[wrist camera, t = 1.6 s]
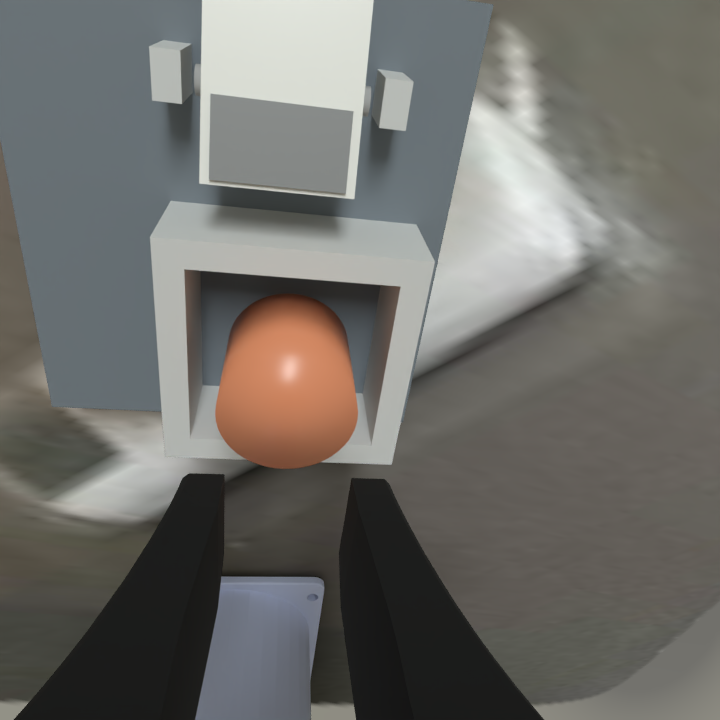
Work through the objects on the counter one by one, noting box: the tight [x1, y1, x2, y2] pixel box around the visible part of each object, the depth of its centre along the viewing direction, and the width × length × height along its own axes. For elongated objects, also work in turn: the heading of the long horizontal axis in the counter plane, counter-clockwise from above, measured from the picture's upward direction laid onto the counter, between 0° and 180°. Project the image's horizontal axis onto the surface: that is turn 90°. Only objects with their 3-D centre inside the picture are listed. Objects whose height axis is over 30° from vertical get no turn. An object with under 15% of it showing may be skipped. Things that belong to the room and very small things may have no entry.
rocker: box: [194, 0, 374, 199], centre depth 12 cm, size 4×4×1 cm
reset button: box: [215, 294, 358, 469], centre depth 14 cm, size 3×3×3 cm
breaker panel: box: [0, 0, 493, 465], centre depth 15 cm, size 12×11×4 cm
